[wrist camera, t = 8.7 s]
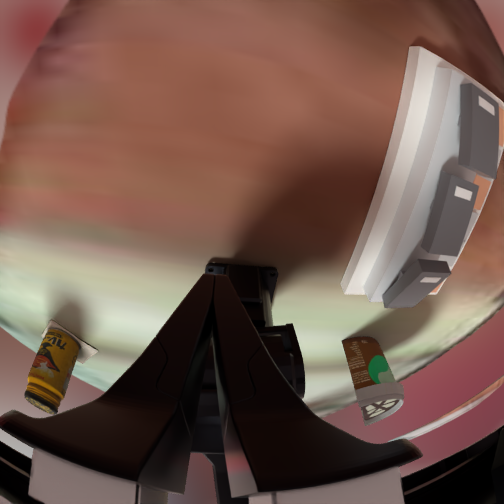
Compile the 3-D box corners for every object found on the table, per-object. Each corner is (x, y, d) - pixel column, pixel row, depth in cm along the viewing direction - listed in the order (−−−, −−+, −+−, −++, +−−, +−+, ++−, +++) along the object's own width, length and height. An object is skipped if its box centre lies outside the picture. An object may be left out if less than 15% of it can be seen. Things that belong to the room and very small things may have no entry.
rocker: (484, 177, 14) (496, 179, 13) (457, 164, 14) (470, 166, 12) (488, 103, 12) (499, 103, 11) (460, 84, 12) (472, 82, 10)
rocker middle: (449, 250, 18) (457, 257, 17) (420, 246, 18) (429, 253, 17) (469, 181, 16) (479, 186, 15) (441, 170, 15) (452, 175, 14)
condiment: (51, 318, 29) (21, 390, 20) (98, 350, 33) (78, 422, 24) (41, 335, 32) (17, 397, 22) (83, 362, 36) (65, 424, 26)
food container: (386, 359, 38) (404, 412, 30) (351, 372, 39) (365, 426, 31) (384, 318, 31) (411, 385, 23) (339, 335, 32) (358, 406, 24)
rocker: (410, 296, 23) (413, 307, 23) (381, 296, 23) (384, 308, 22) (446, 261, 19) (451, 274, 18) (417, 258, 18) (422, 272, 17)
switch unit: (430, 285, 28) (445, 309, 25) (340, 283, 27) (351, 313, 23) (502, 106, 14) (530, 118, 11) (409, 46, 13) (441, 46, 10)
